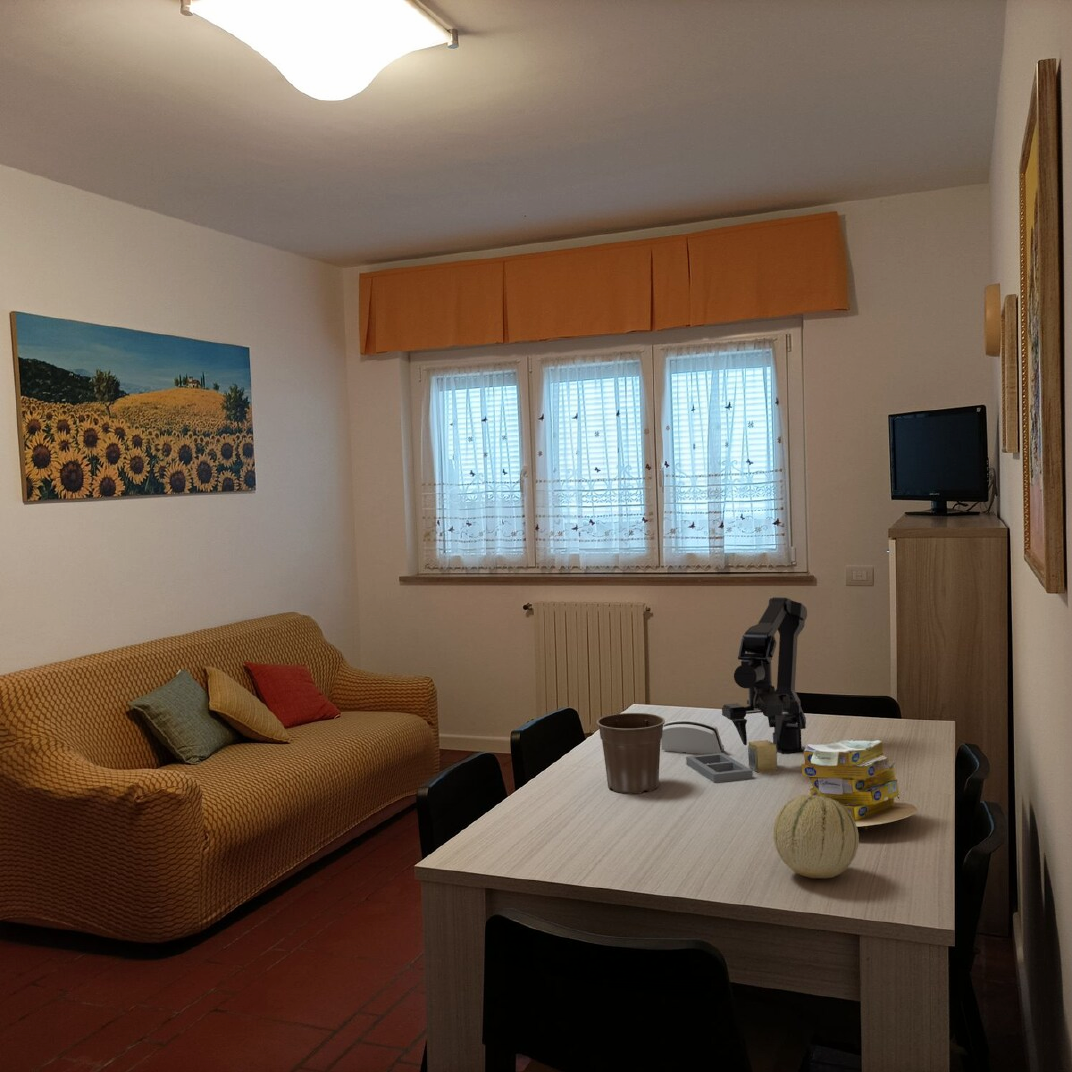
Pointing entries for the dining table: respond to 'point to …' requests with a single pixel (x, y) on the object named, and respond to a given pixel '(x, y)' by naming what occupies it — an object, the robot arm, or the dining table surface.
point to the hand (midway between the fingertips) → (762, 743)
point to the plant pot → (631, 750)
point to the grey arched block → (691, 737)
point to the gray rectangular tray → (719, 767)
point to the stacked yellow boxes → (856, 780)
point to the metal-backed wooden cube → (762, 756)
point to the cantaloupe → (816, 836)
